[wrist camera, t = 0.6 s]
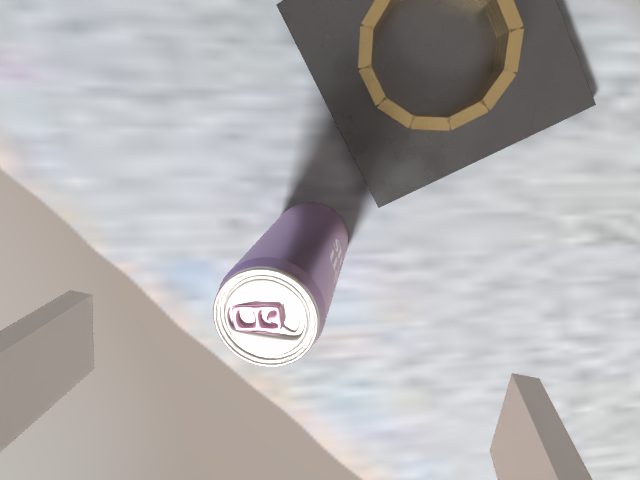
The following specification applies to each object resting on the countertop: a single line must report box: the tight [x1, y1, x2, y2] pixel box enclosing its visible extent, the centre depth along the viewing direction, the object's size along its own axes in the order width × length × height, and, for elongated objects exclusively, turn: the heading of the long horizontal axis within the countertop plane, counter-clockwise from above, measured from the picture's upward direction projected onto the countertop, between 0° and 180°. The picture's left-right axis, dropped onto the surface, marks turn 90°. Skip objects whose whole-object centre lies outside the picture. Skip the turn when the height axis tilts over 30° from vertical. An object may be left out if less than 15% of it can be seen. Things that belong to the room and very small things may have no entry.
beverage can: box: [213, 202, 348, 367], centre depth 31 cm, size 6×6×15 cm
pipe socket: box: [277, 0, 596, 208], centre depth 30 cm, size 16×16×5 cm
